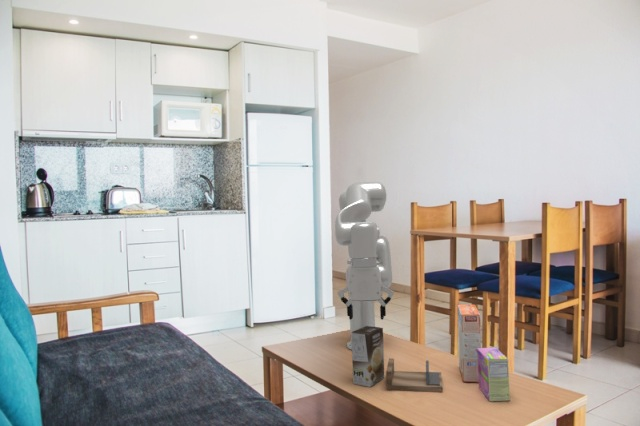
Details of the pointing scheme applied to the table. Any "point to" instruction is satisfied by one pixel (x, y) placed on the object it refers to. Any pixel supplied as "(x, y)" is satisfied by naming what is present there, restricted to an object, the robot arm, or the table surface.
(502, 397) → the box
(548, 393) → the table surface
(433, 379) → the bookend
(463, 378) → the cracker box
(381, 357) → the coffee box
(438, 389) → the shelf
